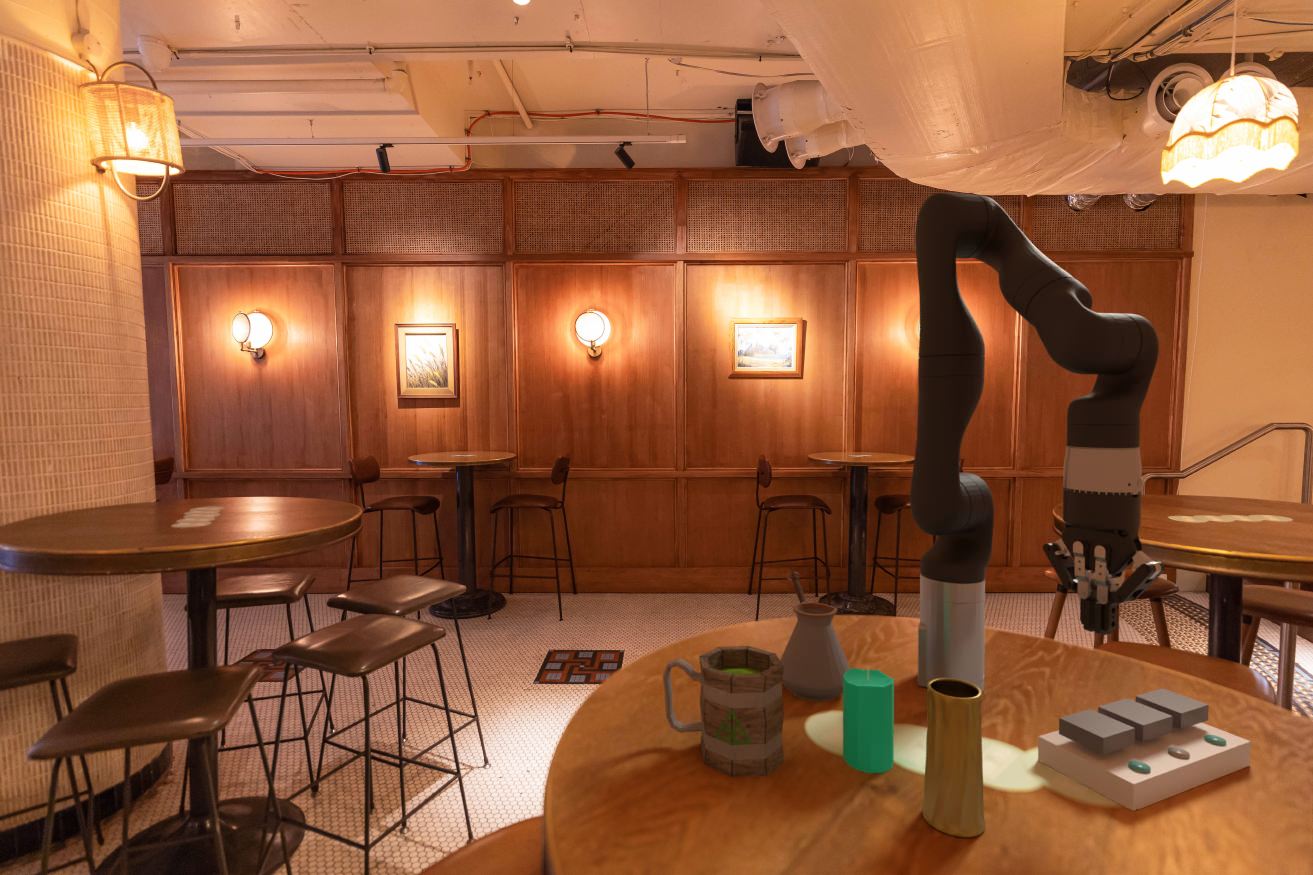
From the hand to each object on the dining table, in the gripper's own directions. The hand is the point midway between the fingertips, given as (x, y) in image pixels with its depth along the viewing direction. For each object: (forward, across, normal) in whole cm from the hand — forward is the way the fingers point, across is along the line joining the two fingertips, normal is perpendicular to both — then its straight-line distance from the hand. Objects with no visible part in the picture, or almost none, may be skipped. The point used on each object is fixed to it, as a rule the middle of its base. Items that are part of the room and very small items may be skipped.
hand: (1098, 631), depth 76 cm
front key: (+13, 0, 0) cm, 13 cm away
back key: (+13, 0, +15) cm, 19 cm away
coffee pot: (+17, -36, -15) cm, 43 cm away
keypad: (+17, +1, +7) cm, 18 cm away
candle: (+17, -13, -23) cm, 31 cm away
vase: (+17, 0, -22) cm, 28 cm away
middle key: (+13, 0, +7) cm, 15 cm away
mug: (+17, -22, -38) cm, 48 cm away
